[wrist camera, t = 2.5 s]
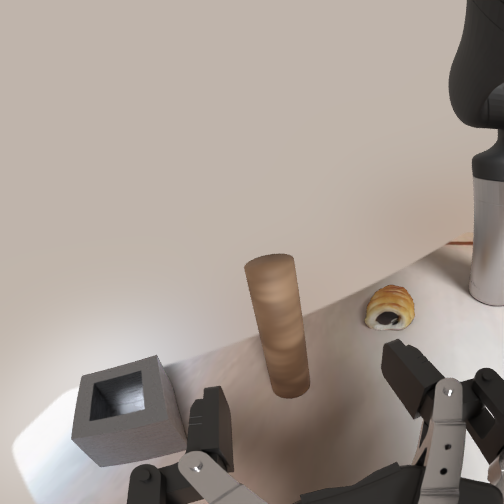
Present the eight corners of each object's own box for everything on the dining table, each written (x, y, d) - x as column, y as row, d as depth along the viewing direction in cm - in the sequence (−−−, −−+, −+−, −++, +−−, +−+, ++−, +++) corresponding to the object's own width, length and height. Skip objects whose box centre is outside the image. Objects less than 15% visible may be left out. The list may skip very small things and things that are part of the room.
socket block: (172, 385, 29) (156, 354, 27) (189, 448, 20) (168, 418, 18) (101, 404, 26) (81, 375, 24) (100, 467, 16) (71, 438, 15)
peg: (313, 372, 27) (297, 252, 23) (306, 399, 23) (287, 272, 19) (278, 370, 28) (253, 255, 24) (267, 396, 25) (236, 274, 21)
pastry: (373, 295, 39) (373, 273, 38) (414, 297, 35) (416, 274, 34) (362, 331, 32) (363, 306, 31) (412, 334, 28) (416, 309, 27)
